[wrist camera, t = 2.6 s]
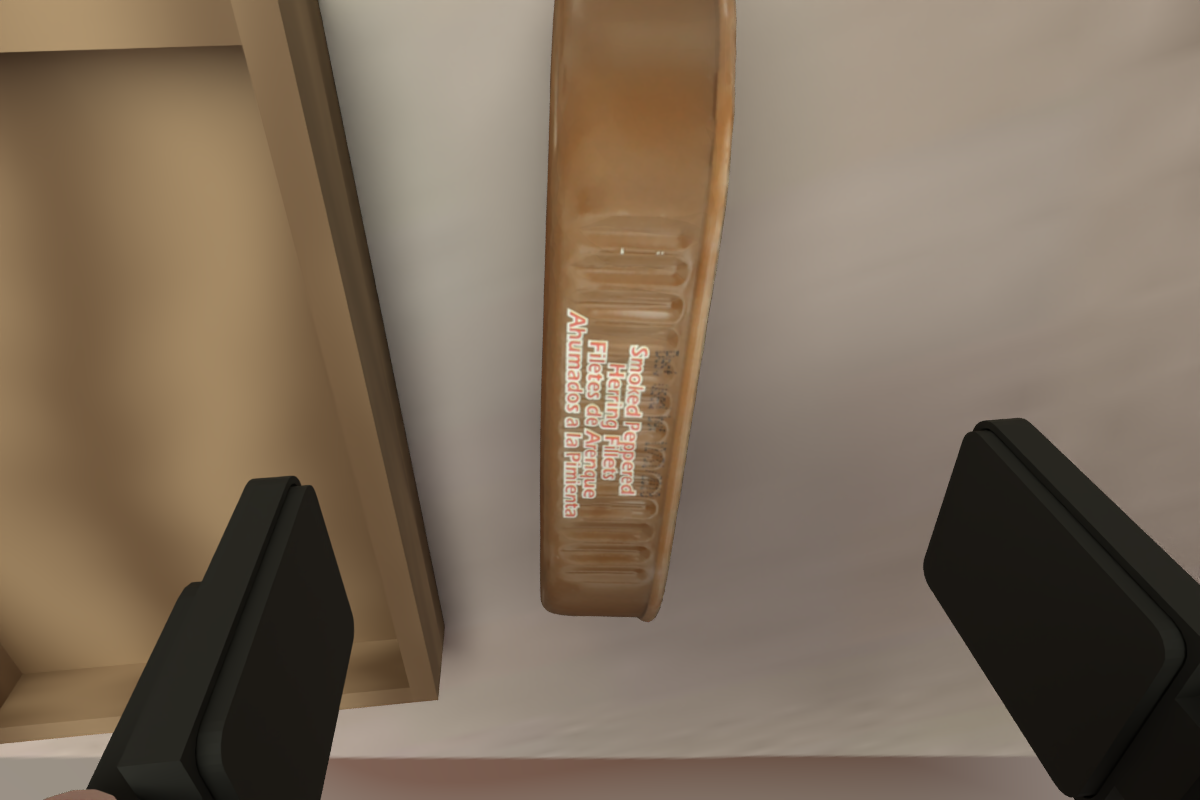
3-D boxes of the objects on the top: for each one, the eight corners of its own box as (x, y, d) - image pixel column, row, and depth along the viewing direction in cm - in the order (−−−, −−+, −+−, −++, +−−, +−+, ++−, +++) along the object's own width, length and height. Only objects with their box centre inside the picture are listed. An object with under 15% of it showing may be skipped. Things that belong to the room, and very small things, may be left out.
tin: (626, 469, 24) (674, 701, 17) (528, 471, 23) (536, 709, 16) (683, -89, 15) (827, -91, 8) (533, -100, 15) (552, -112, 8)
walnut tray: (314, -20, 15) (275, -7, 13) (444, 626, 27) (438, 699, 24) (-456, -1, 14) (-662, 17, 12) (24, 666, 26) (-28, 746, 23)
